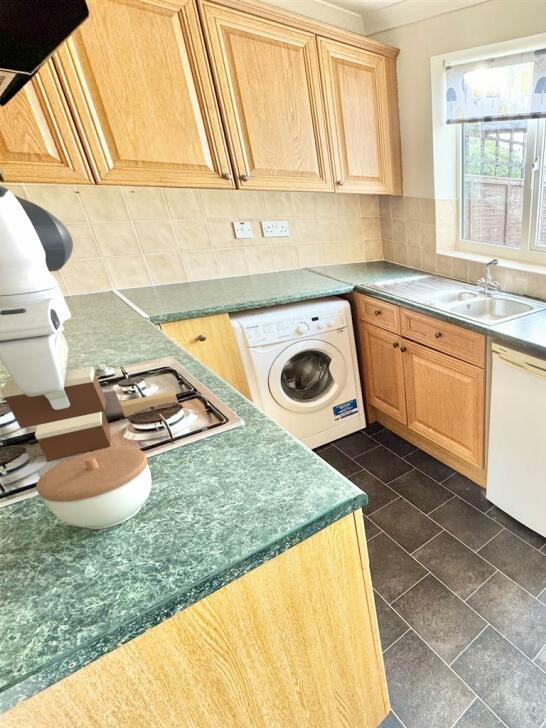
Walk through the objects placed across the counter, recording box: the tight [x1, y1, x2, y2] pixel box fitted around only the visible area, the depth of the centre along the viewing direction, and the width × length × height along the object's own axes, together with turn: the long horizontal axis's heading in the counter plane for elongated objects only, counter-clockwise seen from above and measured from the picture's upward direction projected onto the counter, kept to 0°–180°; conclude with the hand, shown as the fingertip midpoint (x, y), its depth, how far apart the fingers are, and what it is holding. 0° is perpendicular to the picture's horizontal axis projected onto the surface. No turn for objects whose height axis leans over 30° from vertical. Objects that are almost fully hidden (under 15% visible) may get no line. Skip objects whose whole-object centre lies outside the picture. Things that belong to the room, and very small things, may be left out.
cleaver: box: [103, 389, 179, 420], centre depth 94 cm, size 23×2×6 cm, turn 131°
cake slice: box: [0, 366, 106, 429], centre depth 63 cm, size 9×5×6 cm, turn 130°
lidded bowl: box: [35, 446, 153, 530], centre depth 67 cm, size 13×13×11 cm
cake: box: [34, 411, 111, 462], centre depth 85 cm, size 9×10×6 cm
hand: (63, 399), depth 63 cm, fingers closed on cake slice, 5 cm apart
